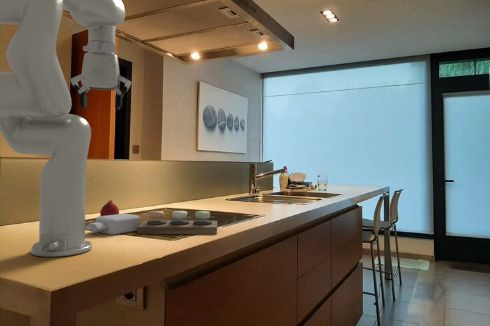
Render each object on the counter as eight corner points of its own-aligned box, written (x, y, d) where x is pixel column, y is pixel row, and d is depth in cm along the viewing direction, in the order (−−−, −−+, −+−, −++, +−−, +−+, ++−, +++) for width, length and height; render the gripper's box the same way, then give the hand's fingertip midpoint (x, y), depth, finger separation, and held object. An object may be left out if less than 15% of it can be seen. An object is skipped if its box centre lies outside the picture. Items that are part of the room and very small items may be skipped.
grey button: (186, 218, 110) (186, 212, 110) (171, 218, 110) (171, 212, 110) (187, 216, 115) (187, 211, 115) (173, 216, 114) (173, 210, 114)
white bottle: (76, 234, 104) (122, 227, 116) (94, 239, 99) (140, 231, 110) (76, 218, 104) (122, 212, 116) (94, 221, 99) (140, 215, 110)
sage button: (209, 219, 111) (209, 213, 111) (194, 219, 111) (195, 213, 111) (209, 216, 115) (210, 211, 115) (195, 216, 115) (195, 211, 115)
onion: (112, 226, 117) (112, 201, 117) (96, 225, 119) (96, 200, 119) (122, 223, 123) (122, 199, 123) (106, 222, 124) (107, 198, 124)
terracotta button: (162, 218, 110) (162, 212, 110) (147, 218, 110) (147, 212, 110) (164, 216, 114) (165, 210, 114) (150, 216, 114) (150, 210, 114)
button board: (216, 234, 107) (217, 224, 107) (136, 233, 106) (137, 224, 106) (217, 226, 119) (217, 218, 119) (145, 226, 118) (145, 218, 118)
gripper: (66, 45, 104) (65, 105, 104) (129, 48, 106) (128, 107, 106) (75, 53, 112) (75, 109, 112) (134, 55, 113) (133, 111, 113)
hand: (101, 108), depth 109 cm, fingers open, 9 cm apart
